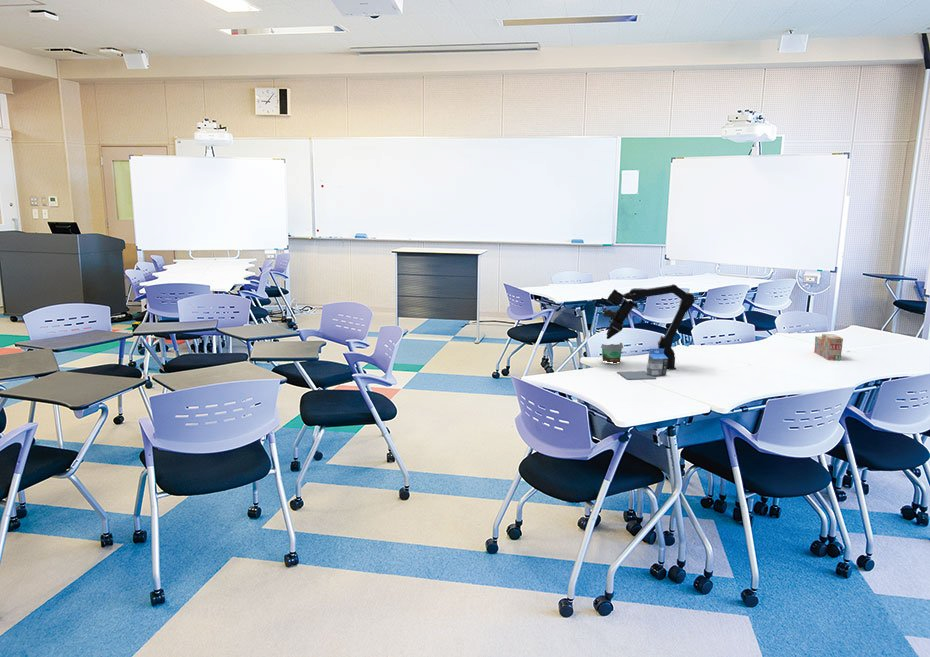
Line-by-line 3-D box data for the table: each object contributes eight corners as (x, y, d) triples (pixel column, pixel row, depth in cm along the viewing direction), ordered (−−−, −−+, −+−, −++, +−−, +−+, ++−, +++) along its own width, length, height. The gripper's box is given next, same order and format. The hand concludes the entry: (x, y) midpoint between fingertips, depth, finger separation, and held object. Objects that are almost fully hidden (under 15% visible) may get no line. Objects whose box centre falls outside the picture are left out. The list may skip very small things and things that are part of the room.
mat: (644, 372, 313) (644, 371, 313) (656, 379, 299) (656, 378, 299) (616, 372, 311) (616, 371, 311) (627, 379, 298) (627, 378, 298)
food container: (607, 365, 326) (608, 346, 325) (600, 363, 332) (601, 344, 330) (627, 363, 331) (628, 344, 329) (620, 361, 337) (621, 342, 335)
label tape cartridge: (651, 376, 303) (654, 350, 301) (646, 374, 306) (649, 348, 304) (666, 375, 306) (669, 350, 304) (661, 373, 310) (664, 348, 308)
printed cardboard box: (813, 352, 362) (815, 330, 360) (825, 352, 361) (827, 331, 359) (828, 360, 341) (830, 337, 339) (840, 361, 340) (843, 338, 338)
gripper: (609, 300, 332) (593, 325, 336) (610, 305, 314) (593, 332, 318) (628, 311, 331) (612, 336, 335) (630, 317, 313) (612, 343, 317)
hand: (607, 336), depth 326 cm, fingers open, 9 cm apart
